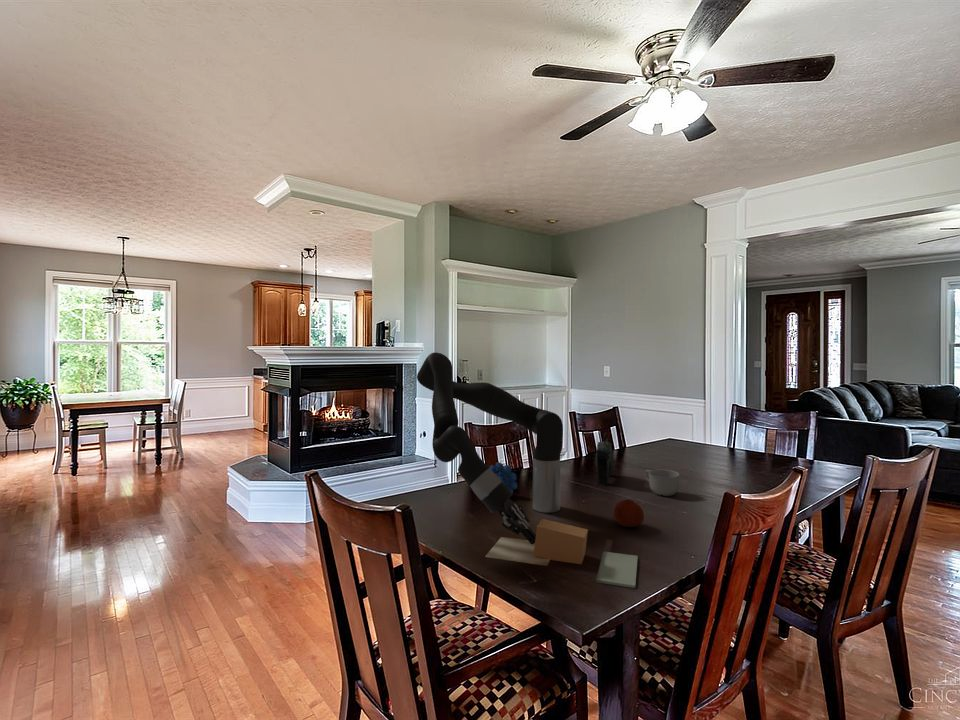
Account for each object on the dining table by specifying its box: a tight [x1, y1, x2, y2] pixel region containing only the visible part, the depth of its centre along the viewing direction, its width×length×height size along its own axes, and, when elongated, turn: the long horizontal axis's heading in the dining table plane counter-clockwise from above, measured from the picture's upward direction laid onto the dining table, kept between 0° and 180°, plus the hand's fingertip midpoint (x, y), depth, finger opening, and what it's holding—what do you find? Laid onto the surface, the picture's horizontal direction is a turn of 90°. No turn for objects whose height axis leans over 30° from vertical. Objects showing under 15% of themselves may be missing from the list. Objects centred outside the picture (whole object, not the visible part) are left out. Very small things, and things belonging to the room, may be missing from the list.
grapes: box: [489, 461, 518, 494], centre depth 183 cm, size 12×7×12 cm, turn 70°
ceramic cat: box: [595, 432, 614, 486], centre depth 204 cm, size 20×6×20 cm, turn 158°
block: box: [534, 518, 589, 565], centre depth 125 cm, size 6×12×8 cm, turn 70°
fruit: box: [612, 499, 645, 528], centre depth 151 cm, size 9×9×8 cm
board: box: [485, 536, 551, 567], centre depth 129 cm, size 14×16×2 cm
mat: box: [595, 550, 639, 589], centre depth 123 cm, size 17×20×1 cm
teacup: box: [643, 468, 681, 497], centre depth 186 cm, size 14×11×8 cm
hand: (535, 541), depth 127 cm, fingers closed
